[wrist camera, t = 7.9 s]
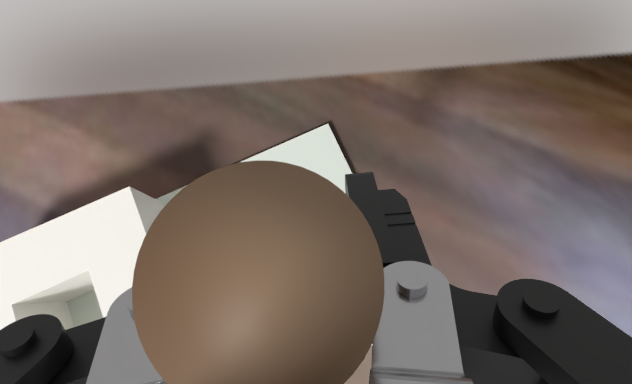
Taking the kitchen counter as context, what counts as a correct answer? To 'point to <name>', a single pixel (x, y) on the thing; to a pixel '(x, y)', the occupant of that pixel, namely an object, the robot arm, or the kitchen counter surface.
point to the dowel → (258, 280)
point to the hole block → (75, 257)
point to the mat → (305, 151)
